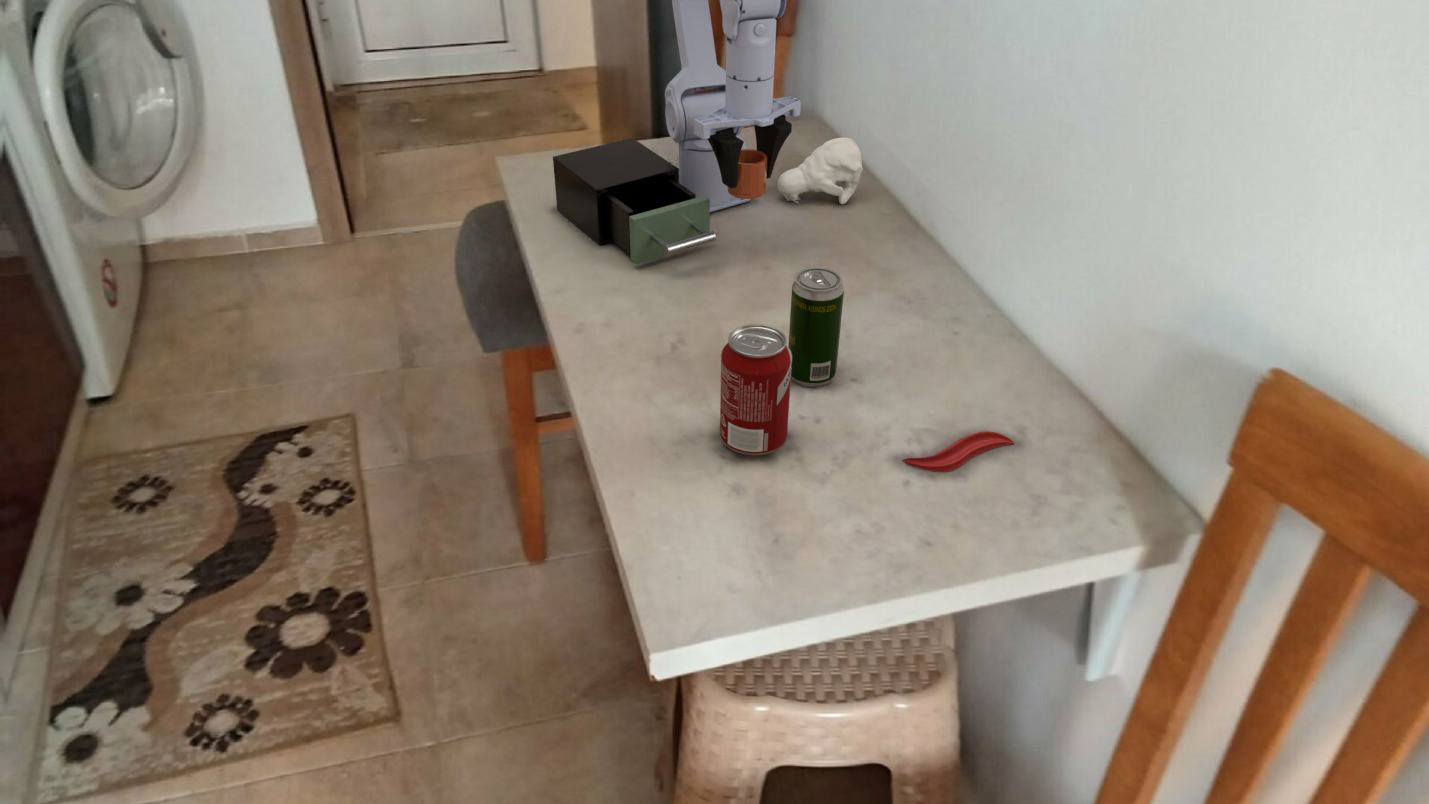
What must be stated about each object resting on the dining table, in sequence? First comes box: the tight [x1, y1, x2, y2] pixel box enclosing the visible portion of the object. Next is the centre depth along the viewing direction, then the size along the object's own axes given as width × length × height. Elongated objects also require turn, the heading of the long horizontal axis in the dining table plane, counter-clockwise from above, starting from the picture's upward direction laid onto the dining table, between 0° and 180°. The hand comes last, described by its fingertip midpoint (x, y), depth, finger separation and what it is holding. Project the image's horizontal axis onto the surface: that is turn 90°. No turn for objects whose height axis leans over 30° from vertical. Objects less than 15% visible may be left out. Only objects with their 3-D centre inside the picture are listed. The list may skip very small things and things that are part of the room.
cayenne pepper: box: [902, 430, 1015, 473], centre depth 106 cm, size 12×5×2 cm, turn 99°
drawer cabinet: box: [552, 137, 679, 246], centre depth 146 cm, size 12×12×8 cm
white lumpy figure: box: [777, 137, 864, 205], centre depth 151 cm, size 6×8×12 cm
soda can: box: [719, 323, 792, 456], centre depth 105 cm, size 7×7×12 cm
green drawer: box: [601, 176, 717, 266], centre depth 138 cm, size 16×11×6 cm
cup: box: [728, 148, 767, 200], centre depth 134 cm, size 5×5×5 cm
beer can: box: [787, 267, 845, 388], centre depth 114 cm, size 5×5×12 cm
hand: (746, 180), depth 135 cm, fingers closed on cup, 5 cm apart
